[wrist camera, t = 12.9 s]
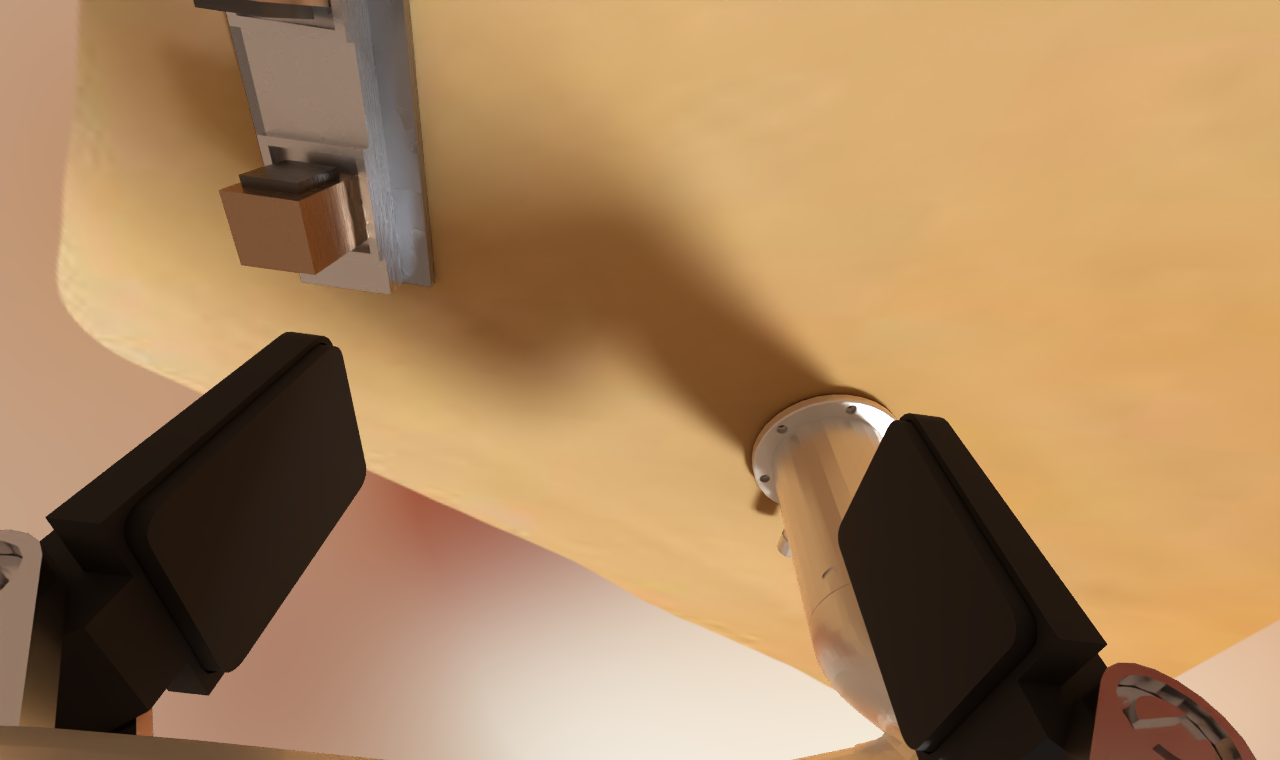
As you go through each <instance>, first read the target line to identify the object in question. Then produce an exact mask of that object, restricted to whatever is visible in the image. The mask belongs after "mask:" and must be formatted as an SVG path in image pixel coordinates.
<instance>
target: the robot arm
mask: <svg viewBox="0 0 1280 760" xmlns="http://www.w3.org/2000/svg"><path fill="white" fill-rule="evenodd" d="M752 468H753V472H754V476H755V479H756V482H757V484H758V486H759V488H760V489H761V490H762V491H763V492H764V494H765V495H766V496H767V497H769V498H770V499H771V500H773V501H774V502H775V503H777V504H779V505H780V508H781V512H782V517H783V521H784V525H785V529H784V530H783V532H782V535H781V537H780V540H779V542H778V545H777V547H778V550H779V552H780V553H781V554H783V555H784V556H786V557H790V558H791V557H792V559H793V564H794V568H795V572H796V576H797V581H798V585H799V589H800V594H801V598H802V602H803V606H804V611H805V615H806V619H807V623H808V628H809V632H810V635H811V640H812V644H813V648H814V652H815V655H816V658H817V660H818V663H819V665H820V667H821V669H822V671H823V673H824V674H825V676H826V678H827V679H828V681H829V682H830V684H831V685H832V686H833V687H834V689H835V690H836V691H837V692H838V693H839V694H840V695H841V696H842V697H843V698H844V699H845V700H846V701H847V702H848V703H849V704H850V705H851V706H852V707H854V708H855V709H856V710H857V711H858V712H859V713H861V714H862V715H863V716H865V717H866V718H867V719H868V720H869V721H871V722H872V723H873V724H874V725H876V726H877V727H878V728H880V729H881V730H882V731H883V732H885V733H884V735H883V736H882V737H880V738H878V739H876V740H873V741H869V742H866V743H862V744H857V745H855V747H853V748H848V749H843V750H839V751H833V752H829V753H823V754H819V755H814V756H809V757H804V758H799V759H794V760H1256V758H1255V756H1254V755H1253V753H1252V752H1251V750H1250V749H1249V747H1248V746H1247V744H1246V742H1245V741H1244V739H1243V738H1242V737H1241V736H1240V734H1239V733H1238V732H1237V731H1236V730H1235V729H1234V728H1233V727H1232V726H1231V724H1230V723H1229V722H1228V721H1227V720H1226V719H1225V718H1224V717H1223V716H1222V715H1221V714H1220V713H1219V712H1218V711H1217V710H1215V709H1214V708H1213V707H1212V706H1211V705H1210V704H1209V703H1207V702H1206V701H1205V700H1204V699H1203V698H1202V697H1201V696H1199V695H1198V694H1196V693H1195V692H1193V691H1192V690H1190V689H1189V688H1187V687H1186V686H1184V685H1183V684H1181V683H1180V682H1179V681H1177V680H1175V679H1173V678H1171V677H1169V676H1167V675H1165V674H1163V673H1161V672H1159V671H1157V670H1155V669H1152V668H1149V667H1145V666H1142V665H1139V664H1136V663H1116V664H1114V665H1112V666H1110V667H1107V666H1106V665H1105V663H1104V662H1103V661H1102V659H1101V658H1100V656H1099V655H1098V653H1099V652H1100V651H1101V650H1102V649H1103V648H1104V647H1105V646H1106V645H1107V643H1106V642H1105V640H1104V639H1103V638H1102V636H1101V635H1100V633H1099V632H1098V631H1097V629H1096V628H1095V626H1094V625H1093V624H1092V622H1091V621H1090V620H1089V618H1088V617H1087V615H1086V614H1085V613H1084V611H1083V610H1082V608H1081V607H1080V606H1079V604H1078V603H1077V601H1076V600H1075V599H1074V597H1073V596H1072V594H1071V593H1070V592H1069V590H1068V589H1067V587H1066V586H1065V585H1064V583H1063V582H1062V581H1061V579H1060V578H1059V576H1058V575H1057V574H1056V572H1055V571H1054V569H1053V568H1052V567H1051V565H1050V564H1049V562H1048V561H1047V560H1046V558H1045V557H1044V555H1043V554H1042V553H1041V551H1040V550H1039V548H1038V547H1037V546H1036V544H1035V543H1034V541H1033V540H1032V539H1031V537H1030V536H1029V535H1028V533H1027V532H1026V530H1025V529H1024V528H1023V526H1022V525H1021V523H1020V522H1019V521H1018V519H1017V518H1016V516H1015V515H1014V514H1013V512H1012V511H1011V509H1010V508H1009V507H1008V505H1007V504H1006V502H1005V501H1004V500H1003V498H1002V497H1001V496H1000V494H999V493H998V491H997V490H996V489H995V487H994V486H993V484H992V483H991V482H990V480H989V479H988V477H987V476H986V475H985V473H984V472H983V470H982V469H981V468H980V466H979V465H978V463H977V462H976V461H975V459H974V458H973V457H972V455H971V454H970V452H969V451H968V450H967V448H966V447H965V445H964V444H963V443H962V441H961V440H960V438H959V437H958V436H957V434H956V433H955V431H954V430H953V429H952V427H951V426H950V424H949V423H948V422H947V421H946V420H945V419H944V418H940V417H934V416H927V415H919V414H911V413H908V414H905V415H903V416H902V417H901V418H900V420H897V419H896V418H895V417H894V416H893V415H892V414H891V413H890V412H889V411H888V410H887V409H886V408H885V407H883V406H881V405H880V404H878V403H876V402H874V401H871V400H869V399H866V398H863V397H858V396H853V395H835V394H832V395H825V396H818V397H814V398H810V399H807V400H804V401H801V402H799V403H796V404H794V405H792V406H790V407H788V408H786V409H785V410H783V411H782V412H780V413H779V414H777V415H776V416H775V417H774V418H773V419H772V420H771V421H769V422H768V423H767V424H766V425H765V427H764V428H763V430H762V431H761V432H760V434H759V435H758V437H757V439H756V442H755V444H754V447H753V452H752ZM365 476H366V463H365V459H364V454H363V449H362V445H361V440H360V435H359V430H358V426H357V421H356V416H355V412H354V407H353V402H352V397H351V393H350V388H349V383H348V379H347V374H346V369H345V364H344V360H343V355H342V352H341V350H340V349H339V348H338V347H336V346H333V345H332V343H331V341H330V340H329V339H328V338H327V337H325V336H319V335H311V334H303V333H296V332H286V333H284V334H282V335H280V336H279V337H278V338H276V339H275V340H274V341H273V342H271V343H270V344H269V345H267V346H266V347H265V348H264V349H262V350H261V351H260V352H258V353H257V354H256V355H254V356H253V357H252V358H251V359H249V360H248V361H247V362H245V363H244V364H243V365H242V366H240V367H239V368H238V369H236V370H235V371H234V372H232V373H231V374H230V375H229V376H227V377H226V378H225V379H223V380H222V381H221V382H220V383H218V384H217V385H216V386H214V387H213V388H212V389H211V390H209V391H208V392H207V393H205V394H204V395H203V396H201V397H200V398H199V399H198V400H196V401H195V402H194V403H192V404H191V405H190V406H189V407H187V408H186V409H185V410H183V411H182V412H181V413H180V414H178V415H177V416H176V417H175V418H173V419H172V420H170V421H169V422H168V423H167V424H165V425H164V426H163V427H161V428H160V429H159V430H158V431H156V432H155V433H154V434H152V435H151V436H150V437H148V438H147V439H146V440H145V441H143V442H142V443H141V444H139V445H138V446H137V447H136V448H134V449H133V450H132V451H130V452H129V453H128V454H126V455H125V456H124V457H123V458H121V459H120V460H119V461H117V462H116V463H115V464H114V465H112V466H111V467H110V468H108V469H107V470H106V471H105V472H103V473H102V474H101V475H99V476H98V477H97V478H96V479H94V480H93V481H92V482H91V483H89V484H88V485H86V486H85V487H84V488H83V489H81V490H80V491H79V492H77V493H76V494H75V495H73V496H72V497H71V498H70V499H68V500H67V501H66V502H65V503H63V504H62V505H61V506H59V507H58V508H57V509H55V510H54V511H53V512H52V513H50V514H49V515H48V516H46V519H47V520H48V522H49V523H50V524H51V526H52V527H53V529H54V530H53V531H52V532H51V533H50V534H49V535H47V536H46V537H45V538H43V539H42V540H41V541H40V542H39V541H38V540H37V539H36V538H34V537H33V536H32V535H30V534H29V533H24V532H19V531H14V530H0V760H382V759H372V758H363V757H353V756H342V755H333V754H324V753H314V752H304V751H295V750H284V749H275V748H265V747H256V746H246V745H237V744H227V743H217V742H208V741H198V740H187V739H175V738H163V737H153V712H152V707H153V705H154V704H155V703H156V701H157V700H158V698H160V696H161V695H162V694H163V692H164V691H165V690H166V688H167V690H168V691H173V692H181V693H190V694H199V695H200V694H201V695H209V694H210V693H211V692H212V690H213V689H214V687H215V686H216V684H217V683H218V681H219V680H220V679H221V677H222V676H223V674H224V673H225V672H231V671H233V670H234V669H236V668H237V667H238V666H239V665H240V664H241V663H242V661H243V660H244V659H245V657H246V656H247V654H248V653H249V651H250V650H251V648H252V647H253V645H254V644H255V643H256V641H257V640H258V638H259V637H260V635H261V634H262V632H263V631H264V629H265V628H266V627H267V625H268V623H269V622H270V621H271V619H272V618H273V616H274V615H275V613H276V612H277V610H278V609H279V607H280V606H281V604H282V603H283V602H284V600H285V598H286V597H287V596H288V594H289V593H290V591H291V589H292V588H293V587H294V585H295V584H296V582H297V581H298V580H299V578H300V577H301V575H302V574H303V572H304V571H305V569H306V568H307V566H308V565H309V563H310V562H311V560H312V559H313V557H314V556H315V555H316V553H317V552H318V550H319V549H320V547H321V546H322V544H323V543H324V541H325V540H326V538H327V537H328V535H329V534H330V532H331V531H332V529H333V528H334V527H335V525H336V524H337V522H338V521H339V519H340V518H341V516H342V515H343V513H344V512H345V510H346V509H347V507H348V506H349V505H350V503H351V502H352V500H353V499H354V497H355V496H356V494H357V493H358V491H359V490H360V488H361V487H362V485H363V482H364V479H365Z"/></svg>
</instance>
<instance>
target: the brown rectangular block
mask: <svg viewBox="0 0 1280 760" xmlns="http://www.w3.org/2000/svg"><path fill="white" fill-rule="evenodd" d="M193 1H194V4H195V7H198V8H205V9H212V10H218V11H225V12H232V13H238V14H245V15H252V16H258V17H268V18H292V19H314V14H313V8H312V6H321V7H331V1H330V0H193Z"/></svg>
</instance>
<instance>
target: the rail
mask: <svg viewBox="0 0 1280 760" xmlns="http://www.w3.org/2000/svg"><path fill="white" fill-rule="evenodd" d="M330 1H331V7H321V6H312V8H313V14H314V19H292V18H268V17H258V16H252V15H245V14H238V13H232V12H226V15H227V19H228V23H229V27H230V31H231V35H232V39H233V43H234V47H235V51H236V55H237V59H238V63H239V67H240V71H241V75H242V79H243V83H244V87H245V91H246V95H247V99H248V103H249V107H250V111H251V115H252V119H253V123H254V127H255V131H256V135H257V139H258V143H259V147H260V151H261V155H262V159H263V163H264V167H261V168H258V169H255V170H252V171H249V172H246V173H243V174H240V175H239V177H240V181H241V183H238V184H235V185H232V186H229V187H227V188H224V189H221V190H219V193H220V196H221V199H222V203H223V206H224V209H225V213H226V216H227V219H228V223H229V226H230V229H231V232H232V236H233V239H234V242H235V246H236V249H237V252H238V256H239V259H240V262H241V265H244V266H252V267H259V268H266V269H274V270H281V271H289V272H296V273H299V274H300V278H301V282H302V283H309V284H316V285H324V286H331V287H339V288H346V289H354V290H361V291H369V292H376V293H383V294H392V293H393V292H394V291H395V290H396V289H397V288H398V287H399V286H400V285H401V284H402V283H407V284H414V285H422V286H429V287H431V286H432V285H433V284H434V283H435V276H434V265H433V254H432V243H431V233H430V222H429V211H428V200H427V189H426V178H425V168H424V157H423V146H422V135H421V124H420V114H419V103H418V92H417V81H416V70H415V59H414V49H413V38H412V27H411V16H410V5H409V0H330Z"/></svg>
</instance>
